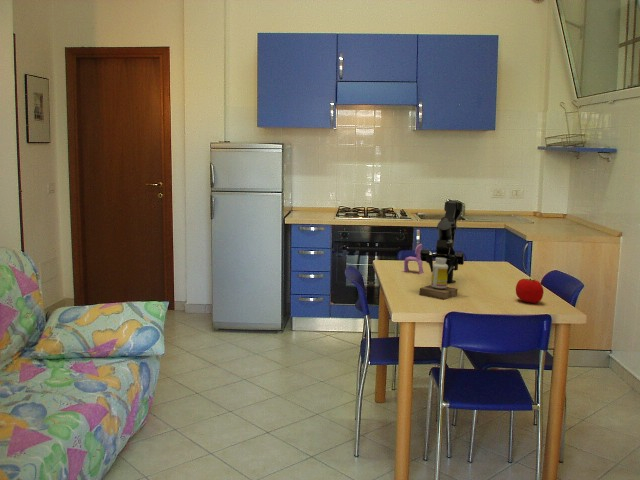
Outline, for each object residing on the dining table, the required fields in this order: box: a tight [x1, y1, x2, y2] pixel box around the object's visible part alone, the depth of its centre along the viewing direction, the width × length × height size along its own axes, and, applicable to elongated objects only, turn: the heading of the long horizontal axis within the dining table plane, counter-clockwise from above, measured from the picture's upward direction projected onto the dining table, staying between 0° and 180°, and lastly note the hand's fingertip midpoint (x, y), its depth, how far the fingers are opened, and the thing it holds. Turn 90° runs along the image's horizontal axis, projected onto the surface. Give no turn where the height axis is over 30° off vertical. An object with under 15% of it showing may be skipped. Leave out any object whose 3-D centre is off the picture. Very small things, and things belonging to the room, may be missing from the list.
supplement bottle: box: [430, 257, 448, 288], centre depth 309 cm, size 7×7×13 cm
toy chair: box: [403, 243, 424, 275], centre depth 361 cm, size 8×9×15 cm
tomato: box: [515, 278, 544, 304], centre depth 306 cm, size 11×13×10 cm
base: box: [418, 284, 459, 301], centre depth 310 cm, size 12×12×3 cm
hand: (439, 272), depth 308 cm, fingers closed on supplement bottle, 7 cm apart
